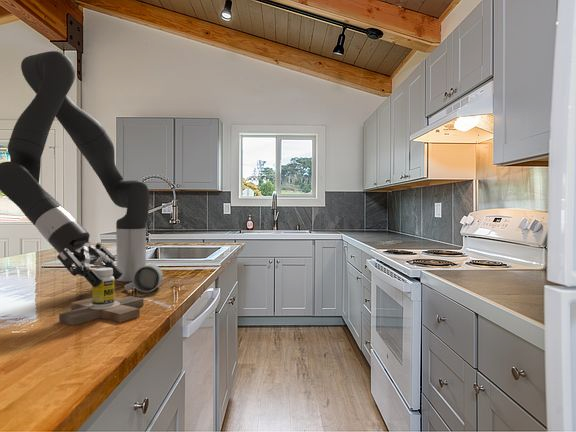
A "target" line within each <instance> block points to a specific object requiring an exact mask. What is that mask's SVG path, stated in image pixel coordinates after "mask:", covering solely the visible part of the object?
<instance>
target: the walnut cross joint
mask: <svg viewBox="0 0 576 432" xmlns="http://www.w3.org/2000/svg"><path fill="white" fill-rule="evenodd" d="M144 302H145V301H144V298H142V297H137V296H131V295H128V296H125V297H121V298H117V299H114V304H113V305H110V306H106V307H94V306H93V305H92V297H90V298H85V299H81V300H78V301H72V302H70V303H71V304H70V305H71V306H70V308H71V310H68V311H63V312H59V313H58V319H59V320H58V322H59V323H62V324H66V325H70V326H76V325H80V324H83V323H86V322H90V321H93V320H98V319H101V318H102V319H106V320H109V321H113V322H118V323H122V322H126V321H130V320H132V319H136V318H139V317H140V315H141V314H140V313H141V312H140V310H141V309H140V308H141V307H143V306H145V305H144Z"/></svg>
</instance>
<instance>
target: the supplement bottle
mask: <svg viewBox="0 0 576 432" xmlns="http://www.w3.org/2000/svg"><path fill="white" fill-rule="evenodd" d="M93 270H94V271H95V273H96V274H97V275H98V276H99V277H100V278H101V279H102V280H103V282H102V283H101V284H100V285H99V286H98V287H93V286H92V285H91V298H92V305H93V306H94V307H106V306H110V305H113V304H114V300H115V291H116V289H115V287H116V286H115V281H116V280H115V279H114V277H113V276H112V275H113V268H103V267H99V268H94V269H93Z"/></svg>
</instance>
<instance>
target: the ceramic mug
mask: <svg viewBox="0 0 576 432" xmlns="http://www.w3.org/2000/svg"><path fill="white" fill-rule="evenodd" d="M163 275H164V274H163V271H162V269H161V268H160V267H159V266H158V265H155V264H151V263H150V264H146V265H145V266H143V267H140V268H139V269H138V270H137V271H136V272H135V273H134V275H133V280H132V281H130V282H129V283H127V284H125V285H124V286H123V287H124V289H125V291H129V290H132V289H134V288H135V289H136V290H137V291H138V292H140V293H151V292H153V291H154V290H156V289H157V288H158V287H159V285H161V283H162V281H163V279H164V276H163Z"/></svg>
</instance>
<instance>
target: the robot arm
mask: <svg viewBox="0 0 576 432" xmlns="http://www.w3.org/2000/svg"><path fill="white" fill-rule="evenodd" d="M20 68H21V73H22V76H23V77H24V80H25V82H26V83H27V84H28V86H29V87H30V88H31V89H32V90H33V92H34V93H35V94H36V95H35V96H34V98H32V101H31V102H30V103H29V104H28V106H27V107H26V108H25V109H23V110H24V111H22V112H21V114H20V115H19V117H18V118H17V120H16V122H15V125H14V126H13V129H12V131H11V135H10V138H9V141H8V144H7V152H8V155H9V158H10V161H9V160H8V161H2V162H0V191H1V192H2V194H3V195H5V197H7V198H8V199H9V200H10V201H11V202H13V203H14V204H15V205H16V206H17V207H18V209H19V210H21V212H22V213H23V215H24V216H25V217H26V218H27V219H28V220H29V221H30V223H32V225H33V226H35V228H36V229H37V231H38V232H39V233H40V235H41V236H42V237H43V238H44V240H46V241H47V242H48V243H49V244H50V245H51V246H52V247H53V249H55V251H56V252H57V253H58V255H57V256H56V258H57V259H58V260H59V261H60V263H62V265H63V266H64V267H65V268H66V269H67V270H68V272H69V273H70V274H71V275H72V276H74V277H76V276H80V277H83V278H84V279H85V280H86V281H88V282H89V284H90V285H91V287H92V286H93V287H98V286H99V285H100V284H101V283H102V282H103V280H102V279H101V278H100V277H99V276H98V275H97V274H96V273H95V271H94V269H92V267H91V265H92V266H95V267H97V266H99V267H100V268H113V275H112V276H113V277H114V279H115V281H117V282H124V283H125V282H129V283H130V282H133V281H132V280H133V275H134V273H135V272H136V271H137V270H138V269H139V268H140V267H143V266H145V265H147V222H148V219H149V209H150V207H149V206H150V205H149V204H150V192H149V188H148V186H147V184H146V183H145V182H144V181H143V180H139V179H138V180H135V179H133V180H126V179H125V178H124V177H123V175H121V173H120V171H119V170H118V168H117V166H116V162H115V156H116V155H115V147H114V143H113V140H112V139H111V138H110V136H109V134H108V133H107V131H106V130H105V128H104V127H103V125H102V124H101V123H100V122H99V121H98V120H97V119H95V118H94V117H93V116H92V115H90V114H89V113H88V112H86V111H85V110H84V109H82V108H80V107H79V106H78V105H76V104H75V103H74V102H73V100H72V99H71V98H70V97H69V96H68V93H69V92H70V90H71V88H72V86H73V84H74V81H75V80H76V79H75V78H76V70H75V67H74V63H73V62H72V61H71V59H70V57H68V56H67V55H66V54H65V53H62V52H60V51H57V50H56V51H55V50H52V51H51V50H50V51H44V52H41V53H36V54H31V55H28V56H26V57H24V58H23V59H22V61H21V64H20ZM55 119H56V120H57V121H58V123H60V125H61V126H62V127H63V129H64V130H65V131H66V133H67V134H68V135H69V137H70V138H71V140H72V141H73V144H75V146H76V147H77V149H78V150H79V152H80V153H81V154H82V156H83V157H84V158H85V159H86V161H87V162H88V164H89V165H90V167H91V168H92V170H93V171H94V173H95V174H96V175H97V177H98V178H99V180H100V182H101V184H102V185H103V187H104V189H105V191H106V193H107V194H108V197H109V198H110V200H111V201H112V202H113V204H114V205H115V206H117V207H119V208H122V209H124V208H125V209H126V213H125V215H123V216H122V217H121V218H118V219H117V220H116V223H115V224H116V225H115V226H116V231H115V232H116V233H115V234H116V235H115V238H116V241H115V242H116V243H115V244H116V247H115V248H116V251H115V252H116V257H115V256H114V255H113V254H112V253H111V252H110V251H109V250H108V249H107V248H106V247H105V246H104V244H102V243H101V242H97V243H96V244H95V245H94V244H92V243H91V242H90V236H91V235H90V232H89V231H87V229H86V228H85V227H83V225H82V224H81V223H79V221H78V220H77V219H76V218H75V217H74V216H73V215H72V214H71V213H70V212H69V211H67V210H66V209H65V208H64V206H62V205H61V204H60V203H59V202H58V201H57V200H56V199H55V198H54V197H53V196H52V195H51V194H49V192H47V191H46V190H45V189H44V188H43V186H41V184H40V174H41V165H42V163H41V162H42V155H43V153H44V150H45V147H46V142H47V140H48V136H49V135H50V134H49V133H50V131H51V128H52V126H53V122H54V121H55ZM115 261H116V264H114V262H115ZM73 265H74V267H73Z"/></svg>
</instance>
